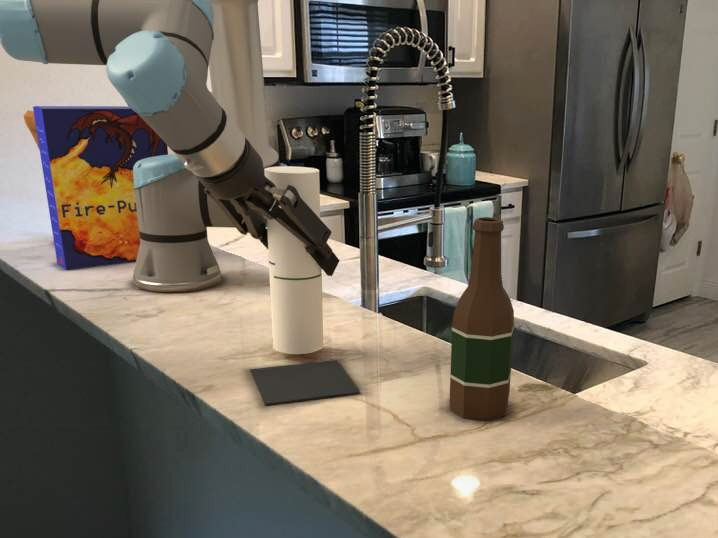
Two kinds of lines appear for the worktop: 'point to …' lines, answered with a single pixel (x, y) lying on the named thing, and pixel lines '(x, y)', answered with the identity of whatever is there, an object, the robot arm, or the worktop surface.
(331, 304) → the worktop surface
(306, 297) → the cylindrical container
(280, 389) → the mat
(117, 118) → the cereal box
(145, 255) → the robot arm
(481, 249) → the beer bottle
